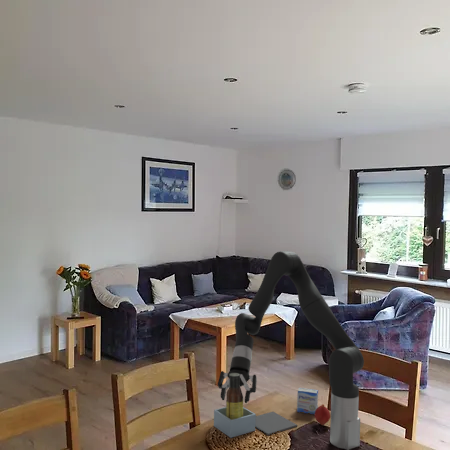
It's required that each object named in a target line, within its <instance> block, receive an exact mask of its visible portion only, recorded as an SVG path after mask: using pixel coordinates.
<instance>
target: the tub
mask: <svg viewBox="0 0 450 450" xmlns="http://www.w3.org/2000/svg"><path fill="white" fill-rule="evenodd" d="M256 416H257V415H256V413H255V412H253V411H251V410H249V409H248V408H246V407H244V406H243V417H240V418H237V419H233V420H231V419H229V418H228V417H226V406H224V407H220V408H216V409H213V427H214V428H216V429H217V430H219V431H220V432H222V433H223V434H224V435H226V436H227V437H229V438H230V439H232V438H235V437H238V436H241V435H246V434H248V433H251V432H254V431H256V428H255V426H256Z"/></svg>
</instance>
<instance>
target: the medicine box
mask: <svg viewBox="0 0 450 450" xmlns="http://www.w3.org/2000/svg"><path fill="white" fill-rule="evenodd" d="M296 396H297V397H296V398H297V400H296V401H297V402H296V412H297V413H300V412H304V413H303V414H308V413H310V414H309V415H315V411H316V409H317V408H318V407H319V405H318V403H319V390H318V389H311V388H305V387H298V389H297V395H296Z"/></svg>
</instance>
